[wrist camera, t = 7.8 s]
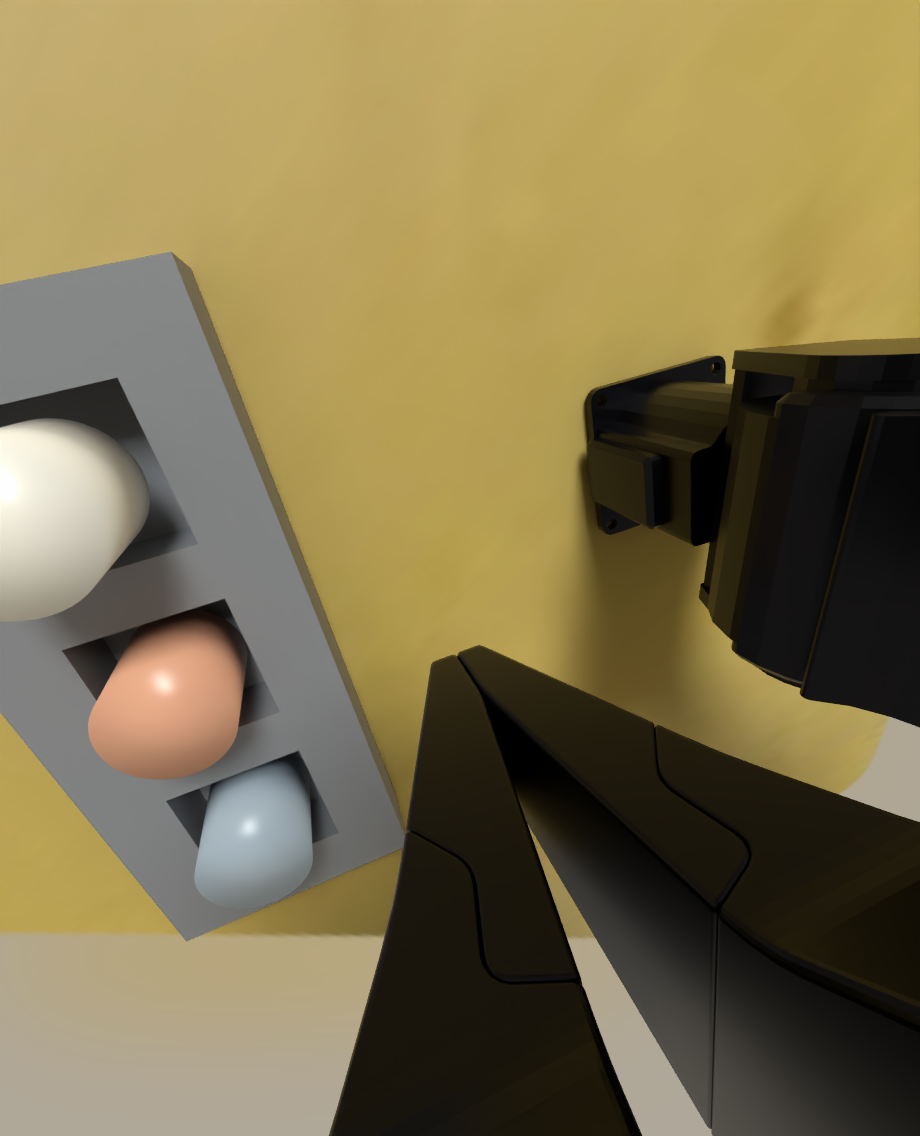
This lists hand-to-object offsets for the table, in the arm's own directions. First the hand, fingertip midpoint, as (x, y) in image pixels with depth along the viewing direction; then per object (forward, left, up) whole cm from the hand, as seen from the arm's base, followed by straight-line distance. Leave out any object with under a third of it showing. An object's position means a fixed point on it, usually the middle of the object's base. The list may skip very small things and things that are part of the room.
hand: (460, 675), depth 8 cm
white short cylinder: (+8, -3, -10) cm, 13 cm away
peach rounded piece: (+8, +4, -12) cm, 15 cm away
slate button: (+8, +11, -12) cm, 18 cm away
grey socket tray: (+8, +4, -13) cm, 16 cm away
